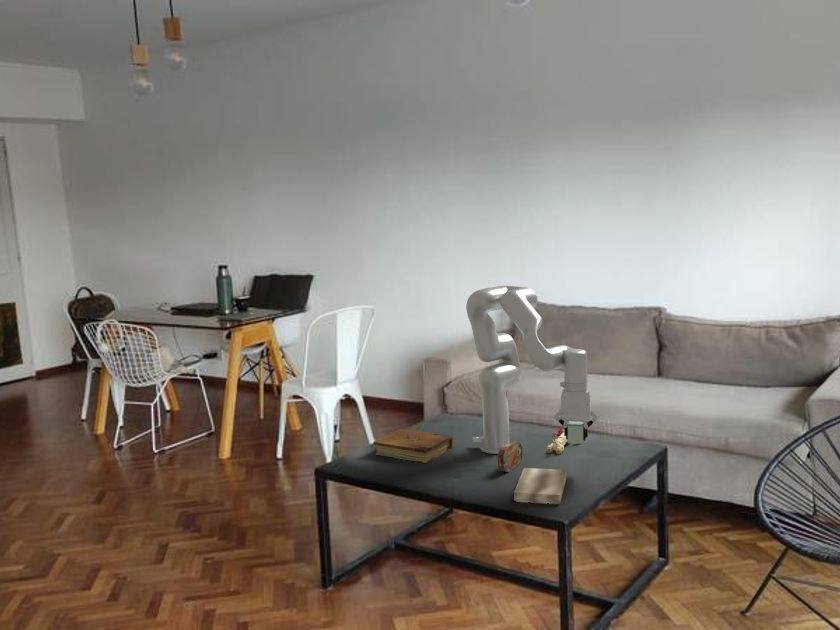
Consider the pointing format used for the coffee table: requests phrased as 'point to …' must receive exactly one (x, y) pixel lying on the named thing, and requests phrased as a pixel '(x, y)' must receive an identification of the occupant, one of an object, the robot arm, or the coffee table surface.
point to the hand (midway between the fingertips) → (576, 438)
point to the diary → (414, 445)
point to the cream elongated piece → (557, 442)
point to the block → (575, 432)
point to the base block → (540, 486)
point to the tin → (509, 456)
